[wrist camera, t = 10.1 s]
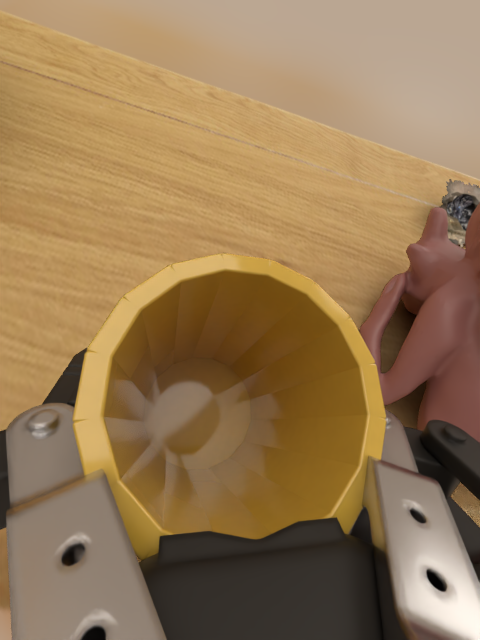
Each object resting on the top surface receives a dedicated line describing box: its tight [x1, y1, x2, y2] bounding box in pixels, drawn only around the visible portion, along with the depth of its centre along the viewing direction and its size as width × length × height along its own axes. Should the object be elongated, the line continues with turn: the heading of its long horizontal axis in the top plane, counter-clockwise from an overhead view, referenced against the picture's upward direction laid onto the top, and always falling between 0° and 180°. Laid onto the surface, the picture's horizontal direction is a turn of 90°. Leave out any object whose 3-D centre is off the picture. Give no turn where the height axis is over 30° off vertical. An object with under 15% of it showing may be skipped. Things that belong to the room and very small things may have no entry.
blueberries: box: [439, 179, 480, 247], centre depth 25 cm, size 7×8×2 cm
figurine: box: [359, 202, 480, 443], centre depth 17 cm, size 12×10×15 cm
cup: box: [72, 253, 386, 560], centre depth 10 cm, size 6×6×10 cm
